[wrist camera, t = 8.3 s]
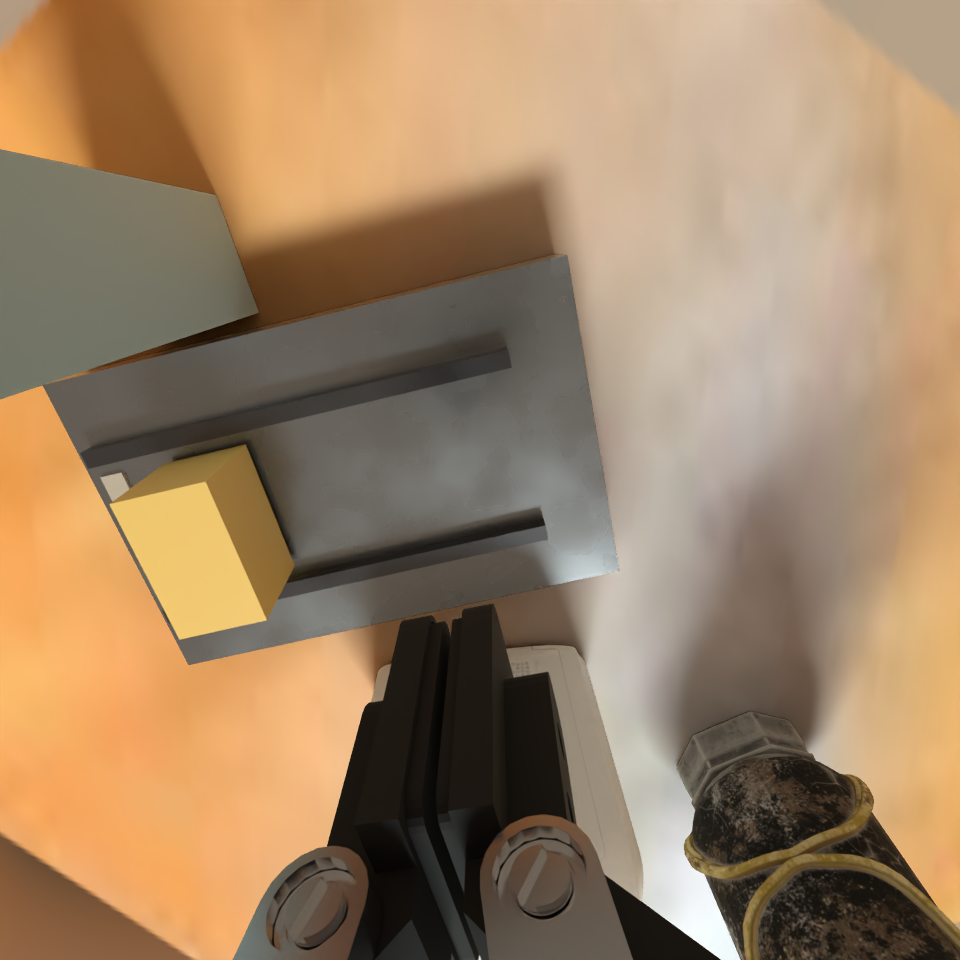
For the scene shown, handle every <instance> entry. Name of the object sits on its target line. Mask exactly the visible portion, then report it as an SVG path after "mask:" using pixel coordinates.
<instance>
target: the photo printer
mask: <svg viewBox="0 0 960 960" xmlns="http://www.w3.org/2000/svg"><path fill="white" fill-rule="evenodd" d="M506 650H507V654H508V658H509V662H510V665H511V669H512V673H513V677H520V676H526V675H532V674H537V673H543V672H549V675H550V678H551V682H552V687H553V691H554V695H555V699H556V704H557V708H558V713H559V717H560V722H561V727H562V733H563V738H564V744H565V750H566V756H567V762H568V769H569V776H570V783H571V789H572V796H573V803H574V809H575V816H576V823H577V826H578V827H579V828H580V829H581V830H582V831H583V832H584V833H585V834H586V835H587V836H588V837H589V839H590V840H591V842H592V844H593V846H594V848H595V850H596V852H597V854H598V857H599V860H600V863H601V866H602V869H603V872H604V874H605V875H606V876H607V877H609V878H610V879H612V880H613V881H614V882H616V883H617V884H618V885H620V886H621V887H622V888H624V889H625V890H626V891H628V892H629V893H631V894H632V895H633V896H635V897H636V898H637V899H639V900H640V901H641V900H642V894H643V866H642V861H641V856H640V851H639V848H638V844H637V841H636V837H635V834H634V830H633V827H632V823H631V820H630V816H629V813H628V810H627V806H626V803H625V799H624V795H623V792H622V788H621V785H620V781H619V778H618V774H617V771H616V768H615V764H614V760H613V757H612V753H611V750H610V746H609V743H608V739H607V736H606V732H605V729H604V725H603V722H602V718H601V715H600V711H599V708H598V704H597V701H596V697H595V694H594V690H593V687H592V683H591V680H590V676H589V673H588V670H587V666H586V664H585V662H584V660H583V659H582V658H581V656H580V655H579V654H578V653H577V651H576V649H575V648H574V647H571V646H565V645H542V646H529V647H517V648H508V649H506ZM390 667H391V664H388V665H385V666H383V667H381V668H380V669H379V671H378V674H377V679H376V683H375V688H374V692H373V696H372V701H371V702H376V701H382V700H383V698H384V693H385V689H386V685H387V680H388V676H389V672H390ZM478 960H481V958H480V955H479V959H478Z"/></svg>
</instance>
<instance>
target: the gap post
mask: <svg viewBox="0 0 960 960" xmlns="http://www.w3.org/2000/svg"><path fill="white" fill-rule="evenodd" d="M256 313H259V311H258V308H257V306H256V303H255V300H254V297H253V295H252V292H251V289H250V286H249V284H248V281H247V278H246V275H245V273H244V270H243V267H242V264H241V262H240V259H239V256H238V253H237V251H236V248H235V245H234V242H233V240H232V237H231V234H230V231H229V229H228V226H227V223H226V220H225V218H224V215H223V212H222V209H221V207H220V204H219V201H218V198H217V195H214V194H209V193H205V192H200V191H195V190H191V189H186V188H181V187H176V186H172V185H167V184H162V183H157V182H153V181H148V180H143V179H138V178H134V177H129V176H124V175H120V174H115V173H110V172H105V171H101V170H96V169H91V168H86V167H82V166H77V165H72V164H67V163H63V162H58V161H53V160H48V159H44V158H39V157H34V156H30V155H25V154H20V153H15V152H11V151H6V150H1V149H0V399H3V398H6V397H8V396H11V395H14V394H17V393H20V392H23V391H26V390H29V389H32V388H35V387H38V386H41V385H44V384H47V383H50V382H53V381H56V380H59V379H62V378H65V377H68V376H71V375H74V374H77V373H80V372H83V371H86V370H89V369H92V368H95V367H98V366H101V365H104V364H107V363H110V362H113V361H116V360H119V359H122V358H125V357H128V356H131V355H134V354H137V353H140V352H143V351H146V350H149V349H152V348H155V347H158V346H161V345H164V344H167V343H170V342H173V341H176V340H179V339H182V338H185V337H188V336H191V335H194V334H197V333H200V332H203V331H206V330H209V329H212V328H215V327H218V326H221V325H224V324H227V323H230V322H233V321H236V320H239V319H242V318H245V317H248V316H251V315H254V314H256Z"/></svg>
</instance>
